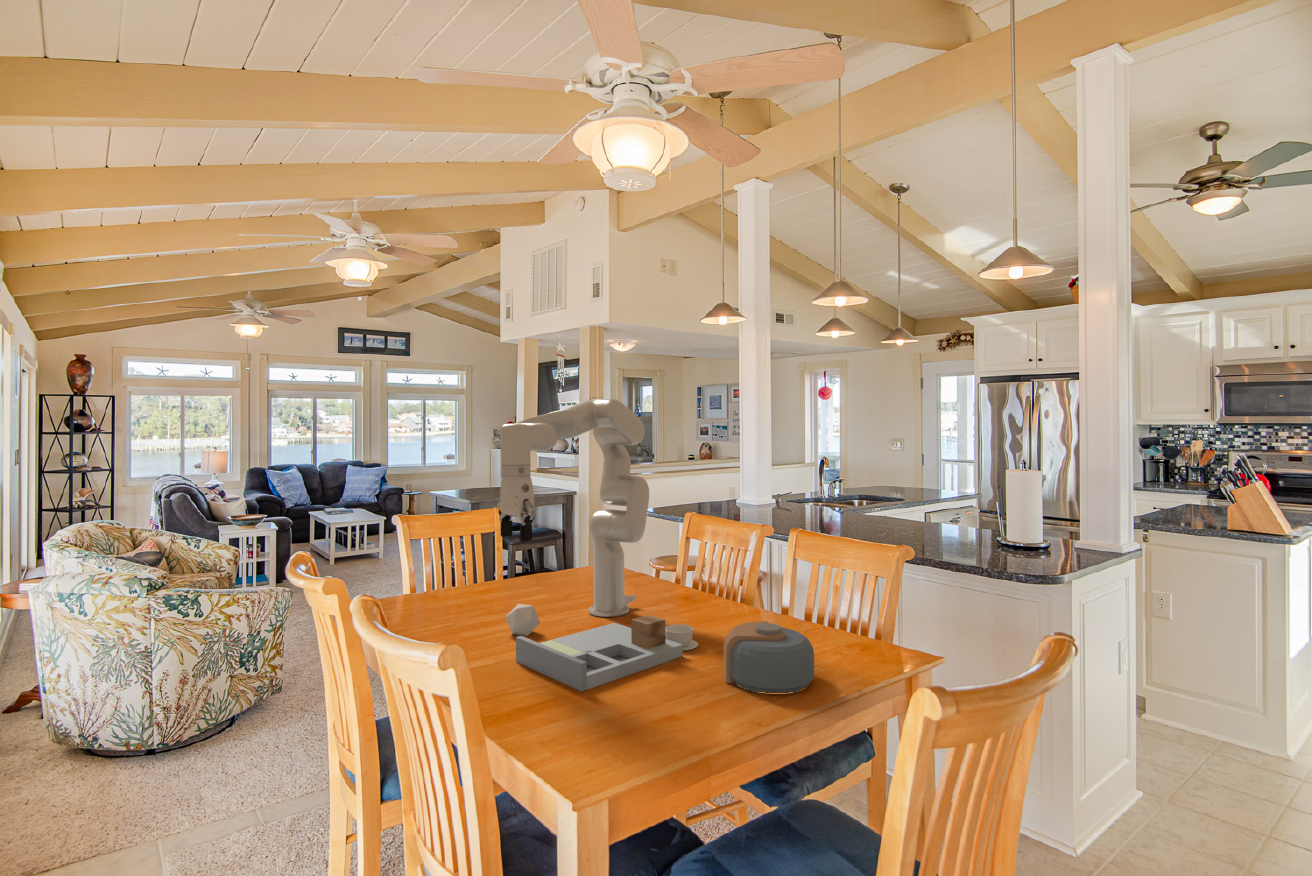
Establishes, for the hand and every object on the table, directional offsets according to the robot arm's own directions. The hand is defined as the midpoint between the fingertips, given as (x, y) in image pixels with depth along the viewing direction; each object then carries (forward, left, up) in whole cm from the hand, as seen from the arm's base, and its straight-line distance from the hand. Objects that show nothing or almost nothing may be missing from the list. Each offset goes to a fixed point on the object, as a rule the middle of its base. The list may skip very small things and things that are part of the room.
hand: (516, 538), depth 171 cm
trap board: (-11, +21, -29) cm, 37 cm away
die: (-8, -10, -29) cm, 32 cm away
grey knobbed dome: (-29, +58, -29) cm, 71 cm away
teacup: (-32, +27, -29) cm, 51 cm away
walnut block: (-21, +27, -26) cm, 43 cm away
